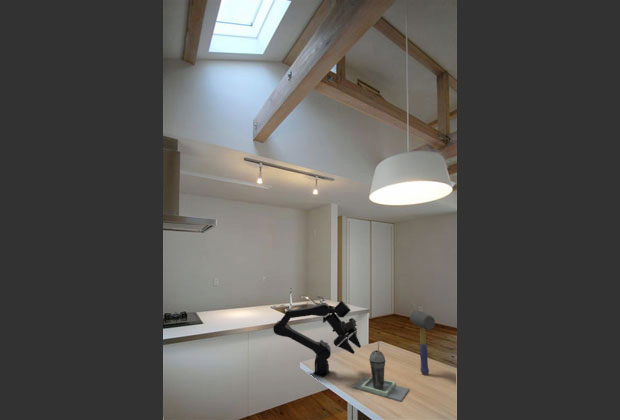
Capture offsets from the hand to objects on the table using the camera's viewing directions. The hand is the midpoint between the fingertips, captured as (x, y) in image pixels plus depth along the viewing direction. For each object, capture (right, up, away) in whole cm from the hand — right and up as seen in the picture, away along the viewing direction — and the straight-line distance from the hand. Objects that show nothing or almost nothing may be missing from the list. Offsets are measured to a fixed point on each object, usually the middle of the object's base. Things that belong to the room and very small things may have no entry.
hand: (357, 350), depth 141 cm
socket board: (+9, -12, -11) cm, 19 cm away
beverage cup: (+8, -12, -11) cm, 18 cm away
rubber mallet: (+35, -14, +3) cm, 37 cm away
